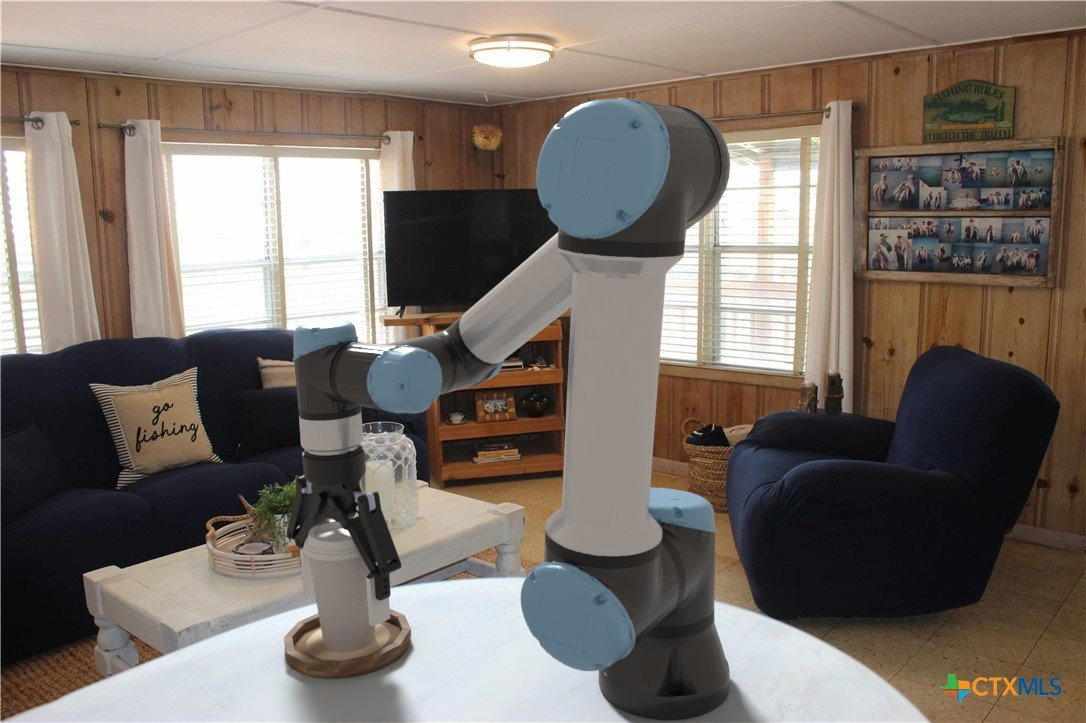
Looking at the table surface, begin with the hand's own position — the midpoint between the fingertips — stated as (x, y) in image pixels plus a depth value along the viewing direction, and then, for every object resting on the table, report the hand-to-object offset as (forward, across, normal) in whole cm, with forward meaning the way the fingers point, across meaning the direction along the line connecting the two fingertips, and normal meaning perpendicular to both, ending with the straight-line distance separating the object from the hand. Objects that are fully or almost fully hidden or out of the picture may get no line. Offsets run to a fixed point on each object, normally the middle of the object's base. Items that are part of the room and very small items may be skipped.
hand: (345, 606), depth 115 cm
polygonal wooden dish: (+5, 0, 0) cm, 5 cm away
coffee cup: (+5, 0, 0) cm, 5 cm away
